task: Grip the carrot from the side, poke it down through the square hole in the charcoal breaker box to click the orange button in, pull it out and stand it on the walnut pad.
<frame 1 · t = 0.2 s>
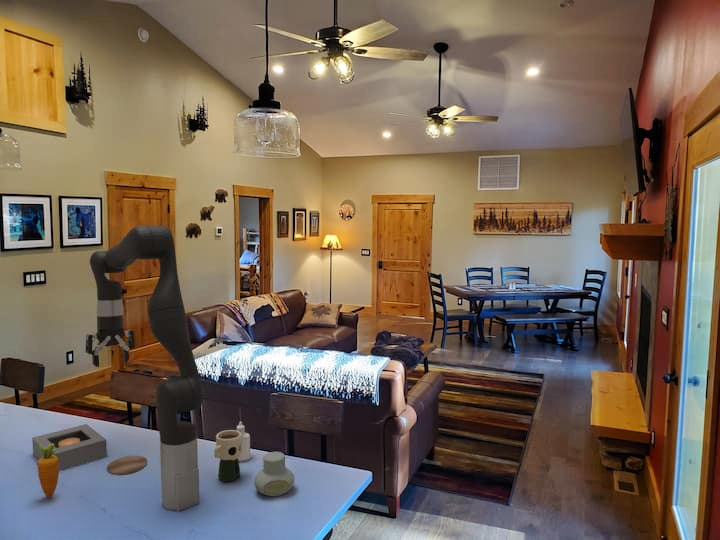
hand: (111, 364, 167), 28 cm above the table, tool pointing down, fingers open, 8 cm apart
eye dropper bottle: (241, 459, 163), on the table
carrot: (49, 498, 140), on the table
character mug: (229, 478, 151), on the table
breaker box: (69, 455, 165), on the table
walnut pad: (127, 466, 158), on the table
air freshener: (274, 491, 145), on the table
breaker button: (69, 444, 165), point 4 cm above the table, slide at 0.0 cm
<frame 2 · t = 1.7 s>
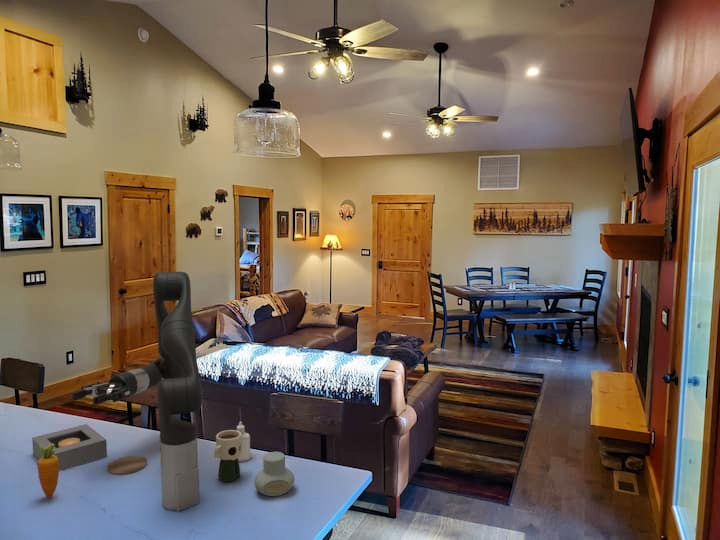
hand: (83, 399, 148), 24 cm above the table, tool horizontal, fingers open, 8 cm apart
nothing on the table moved.
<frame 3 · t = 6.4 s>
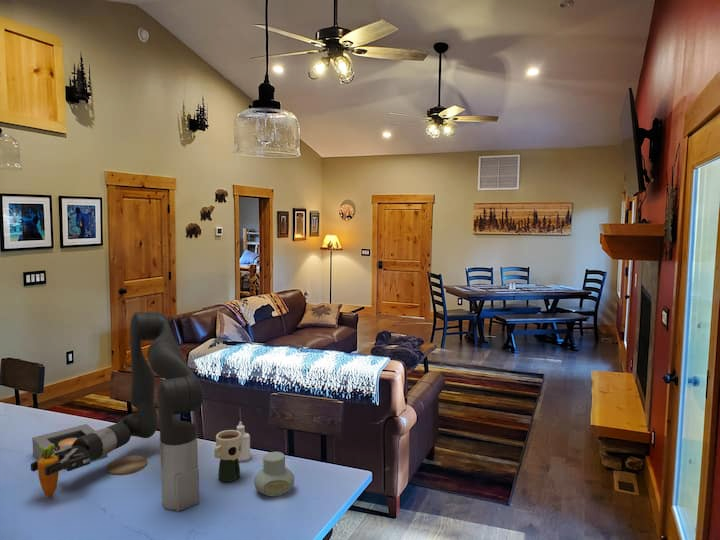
hand: (38, 469, 137), 9 cm above the table, tool horizontal, fingers closed on carrot, 5 cm apart
carrot: (49, 498, 140), on the table, touching gripper
everything else where it was.
when the fingers open (10 cm above the table, at t = 16.8 s): carrot stays where it is, resting on walnut pad.
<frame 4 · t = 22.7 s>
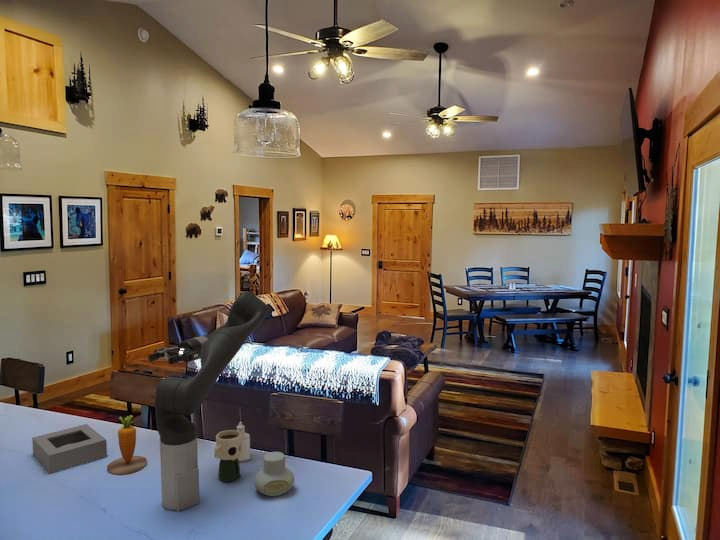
hand: (159, 359, 167), 30 cm above the table, tool horizontal, fingers open, 8 cm apart
carrot: (127, 464, 158), point 1 cm above the table, touching walnut pad
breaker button: (69, 450, 165), point 2 cm above the table, slide at 1.9 cm
everything else where it was.
at the end: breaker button slide at 1.9 cm; carrot inside the target area on the walnut pad (0.2 cm from its centre), point 0.6 cm above the walnut pad's base; carrot tilted 0° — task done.
